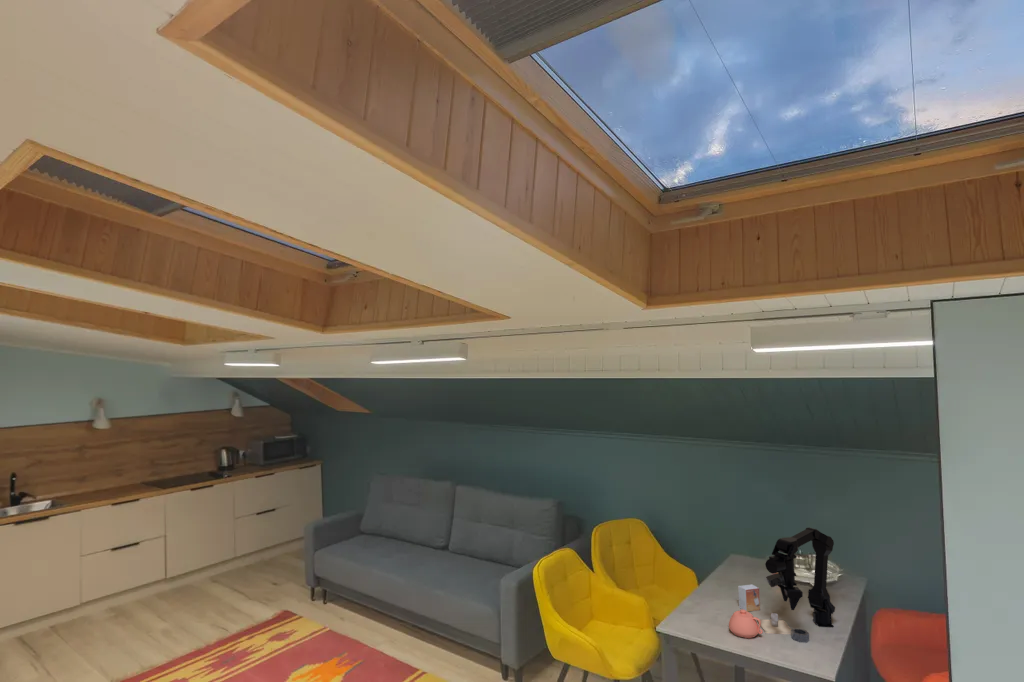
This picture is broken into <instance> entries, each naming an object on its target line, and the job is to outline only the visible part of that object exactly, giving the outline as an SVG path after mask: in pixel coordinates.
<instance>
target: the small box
mask: <svg viewBox="0 0 1024 682" xmlns="http://www.w3.org/2000/svg"><path fill="white" fill-rule="evenodd" d="M737 587H738V590H737V591H738V608H740V610H741V609H743V610H746V611H747V612H749V613H750V612H754V611H755V612H757V611H760V610H761V607H760V606H761V602H760V601H761V599H760V588H759V586H758V587H757V586H756V585H754V584H752V583H751V584H744V585H738V586H737Z"/></svg>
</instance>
